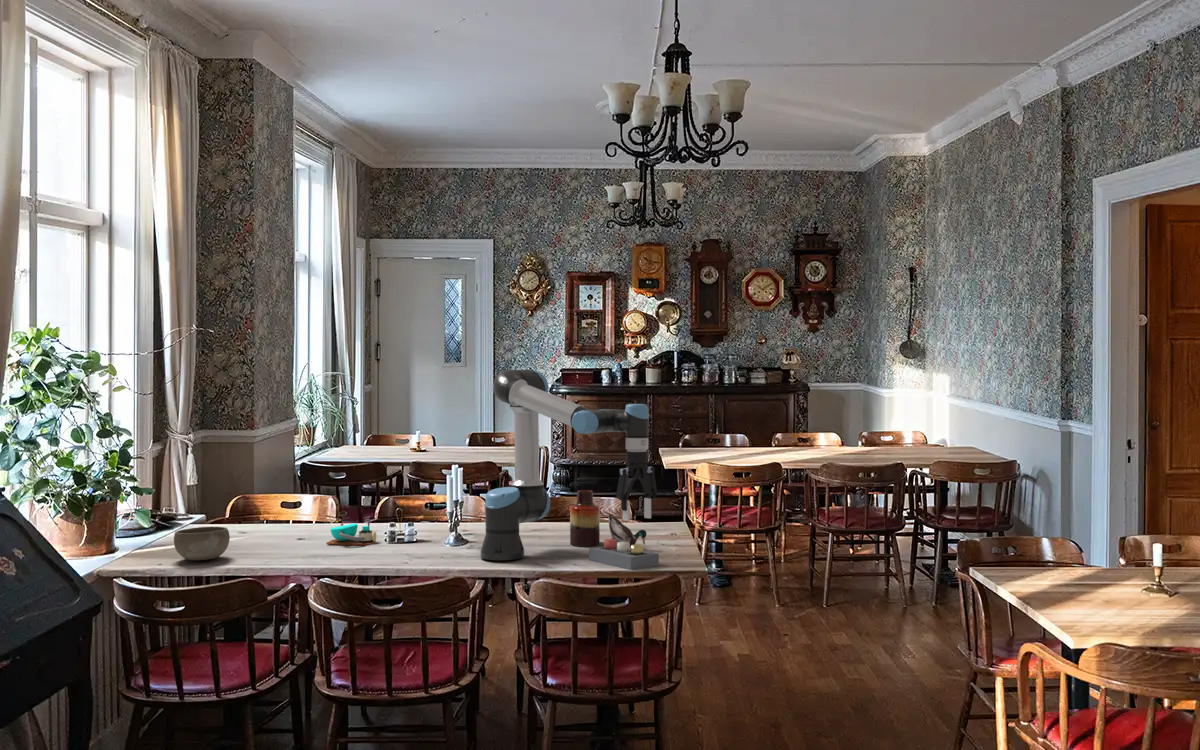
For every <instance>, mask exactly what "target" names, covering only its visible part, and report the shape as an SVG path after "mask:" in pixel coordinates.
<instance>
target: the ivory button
mask: <svg viewBox="0 0 1200 750" xmlns="http://www.w3.org/2000/svg"><path fill="white" fill-rule="evenodd" d="M616 543H617V544H616V545H617V552H621V553H625V552H630V543H629V542H616Z"/></svg>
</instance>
